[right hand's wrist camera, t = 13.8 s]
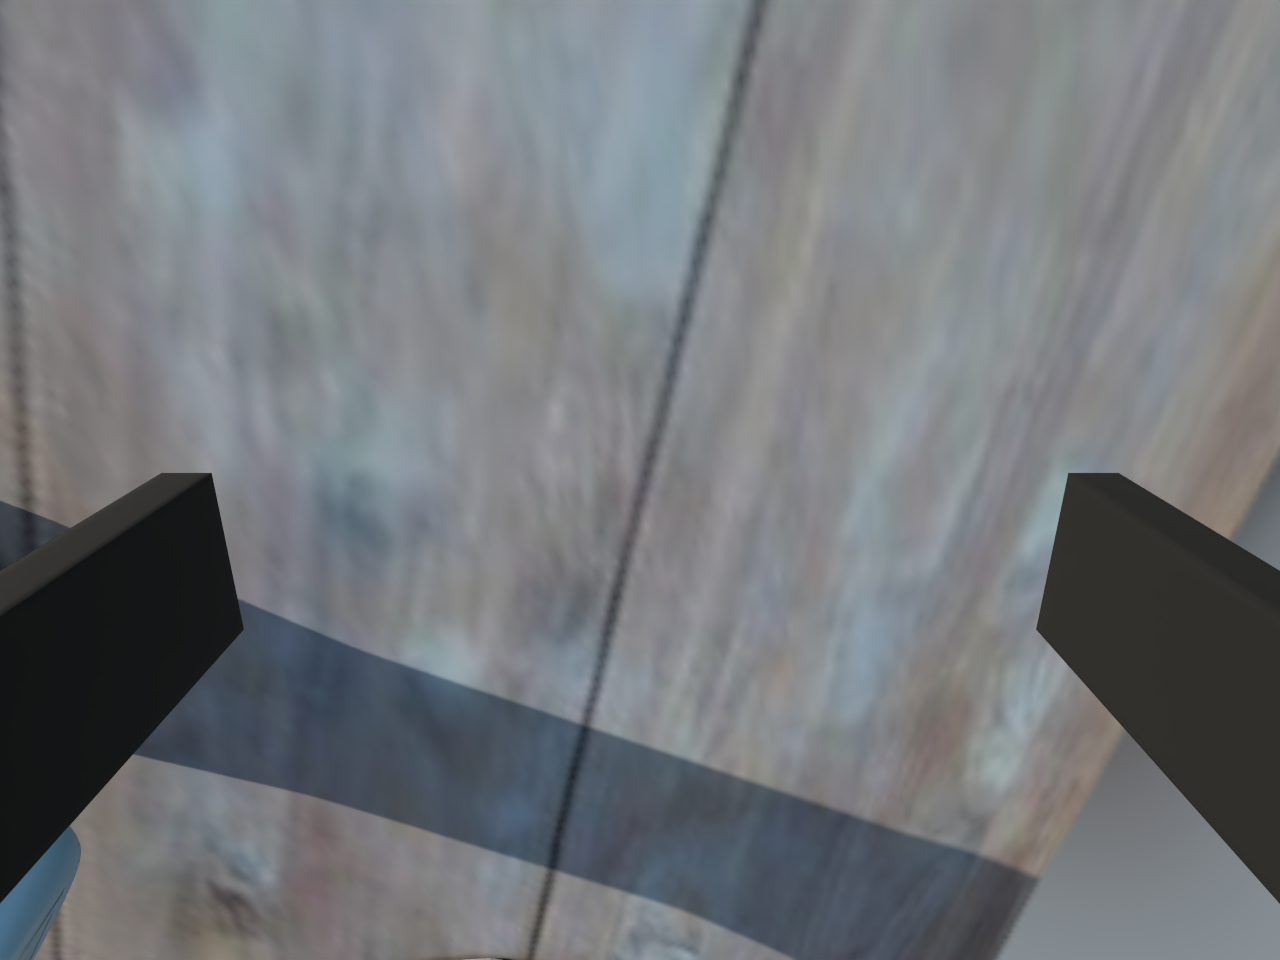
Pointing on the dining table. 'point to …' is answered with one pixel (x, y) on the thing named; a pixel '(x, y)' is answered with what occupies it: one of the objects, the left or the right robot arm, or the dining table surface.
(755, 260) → the dining table surface
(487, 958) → the wall clock
